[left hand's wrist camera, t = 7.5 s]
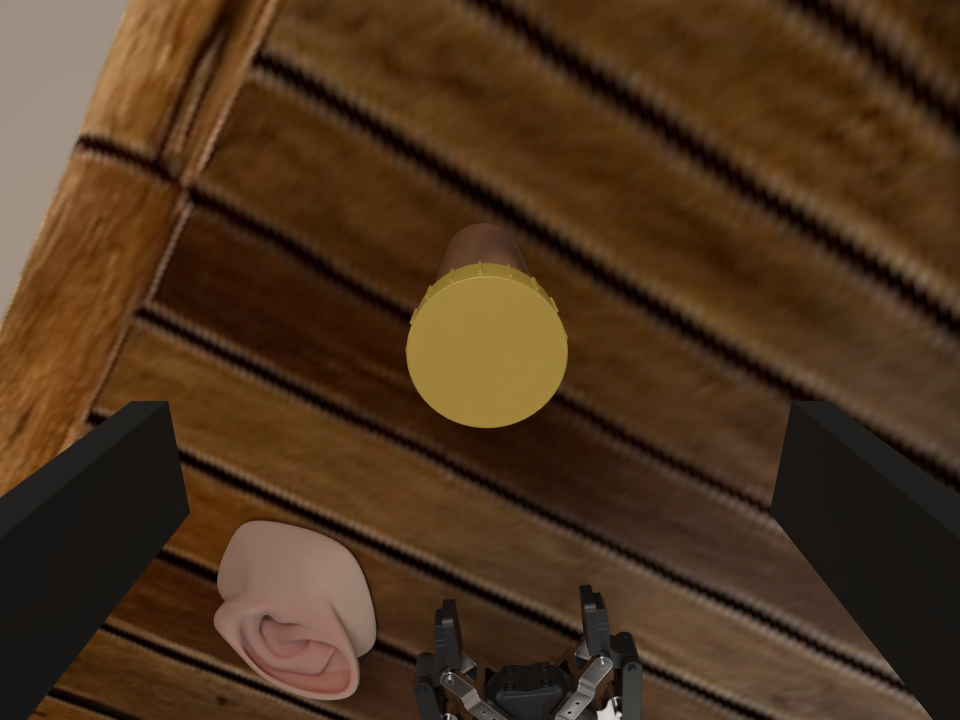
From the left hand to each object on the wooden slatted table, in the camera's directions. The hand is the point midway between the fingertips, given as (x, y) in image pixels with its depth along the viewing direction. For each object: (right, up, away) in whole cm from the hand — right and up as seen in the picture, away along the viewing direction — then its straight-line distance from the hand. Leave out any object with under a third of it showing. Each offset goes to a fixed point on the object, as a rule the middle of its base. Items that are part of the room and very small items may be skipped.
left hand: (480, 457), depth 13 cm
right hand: (+2, -13, +23) cm, 27 cm away
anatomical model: (-14, -15, +31) cm, 38 cm away
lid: (0, +2, +8) cm, 8 cm away
